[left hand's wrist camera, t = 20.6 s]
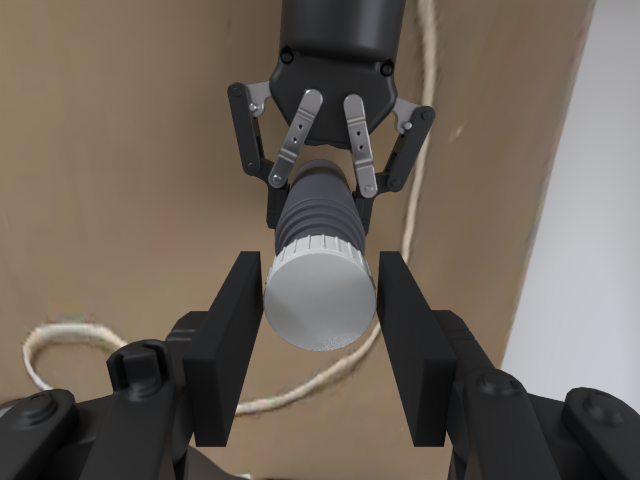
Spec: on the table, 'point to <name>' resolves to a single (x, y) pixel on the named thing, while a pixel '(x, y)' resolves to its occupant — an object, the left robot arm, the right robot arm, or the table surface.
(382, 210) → the table surface
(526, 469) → the left robot arm
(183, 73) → the table surface
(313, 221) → the bottle
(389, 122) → the table surface
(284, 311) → the cap
